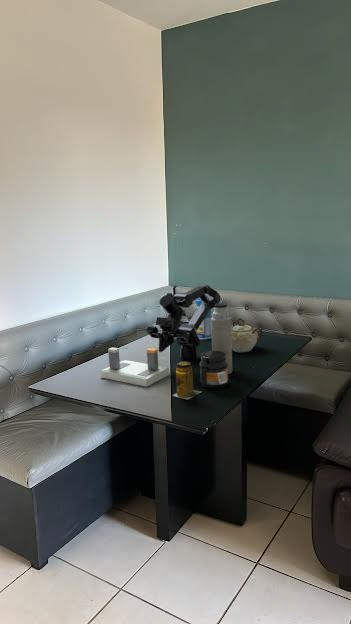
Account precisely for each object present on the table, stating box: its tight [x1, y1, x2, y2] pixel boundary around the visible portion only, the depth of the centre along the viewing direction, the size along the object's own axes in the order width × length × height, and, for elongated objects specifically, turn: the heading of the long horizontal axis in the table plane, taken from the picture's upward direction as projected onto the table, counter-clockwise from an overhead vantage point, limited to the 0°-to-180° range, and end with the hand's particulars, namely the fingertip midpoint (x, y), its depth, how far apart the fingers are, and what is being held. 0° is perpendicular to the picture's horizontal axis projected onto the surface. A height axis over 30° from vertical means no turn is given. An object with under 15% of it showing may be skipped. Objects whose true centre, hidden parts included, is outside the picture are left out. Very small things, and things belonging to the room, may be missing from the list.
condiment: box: [171, 360, 202, 400], centre depth 179 cm, size 7×8×12 cm
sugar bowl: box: [231, 318, 263, 353], centre depth 228 cm, size 20×15×15 cm
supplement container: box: [199, 350, 229, 390], centre depth 187 cm, size 10×10×12 cm
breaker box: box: [100, 359, 170, 387], centre depth 201 cm, size 15×23×3 cm, turn 56°
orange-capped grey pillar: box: [146, 347, 159, 370], centre depth 198 cm, size 2×4×8 cm, turn 56°
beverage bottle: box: [194, 297, 213, 340], centre depth 251 cm, size 8×8×20 cm
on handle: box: [107, 347, 121, 369], centre depth 201 cm, size 2×4×8 cm, turn 56°
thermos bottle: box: [211, 303, 233, 375], centre depth 199 cm, size 8×8×28 cm
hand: (159, 351), depth 201 cm, fingers closed
